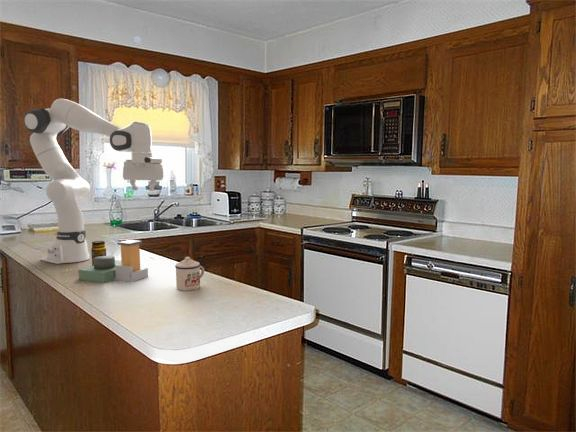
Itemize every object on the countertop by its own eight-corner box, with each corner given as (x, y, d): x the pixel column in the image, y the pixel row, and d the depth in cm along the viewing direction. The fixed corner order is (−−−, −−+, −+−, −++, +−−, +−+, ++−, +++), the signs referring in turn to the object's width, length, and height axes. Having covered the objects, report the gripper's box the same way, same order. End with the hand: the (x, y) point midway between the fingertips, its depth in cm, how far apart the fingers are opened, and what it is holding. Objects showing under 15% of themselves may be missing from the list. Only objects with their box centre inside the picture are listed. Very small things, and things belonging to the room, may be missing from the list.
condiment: (109, 268, 197) (108, 242, 196) (88, 271, 193) (87, 243, 191) (105, 265, 203) (104, 239, 202) (85, 268, 199) (84, 241, 197)
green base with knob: (78, 279, 179) (77, 259, 179) (114, 269, 197) (113, 251, 196) (121, 285, 170) (120, 264, 170) (155, 274, 188) (154, 255, 187)
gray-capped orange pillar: (119, 276, 180) (117, 242, 178) (131, 272, 186) (130, 239, 184) (131, 278, 177) (129, 243, 175) (143, 274, 183) (141, 240, 181)
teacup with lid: (186, 292, 161) (185, 261, 160) (170, 288, 167) (169, 257, 165) (211, 285, 170) (211, 255, 169) (196, 281, 176) (195, 252, 174)
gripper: (118, 159, 199) (120, 190, 201) (155, 159, 191) (156, 191, 193) (129, 159, 205) (130, 189, 206) (165, 159, 197) (166, 190, 198)
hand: (143, 190), depth 199 cm, fingers open, 8 cm apart
